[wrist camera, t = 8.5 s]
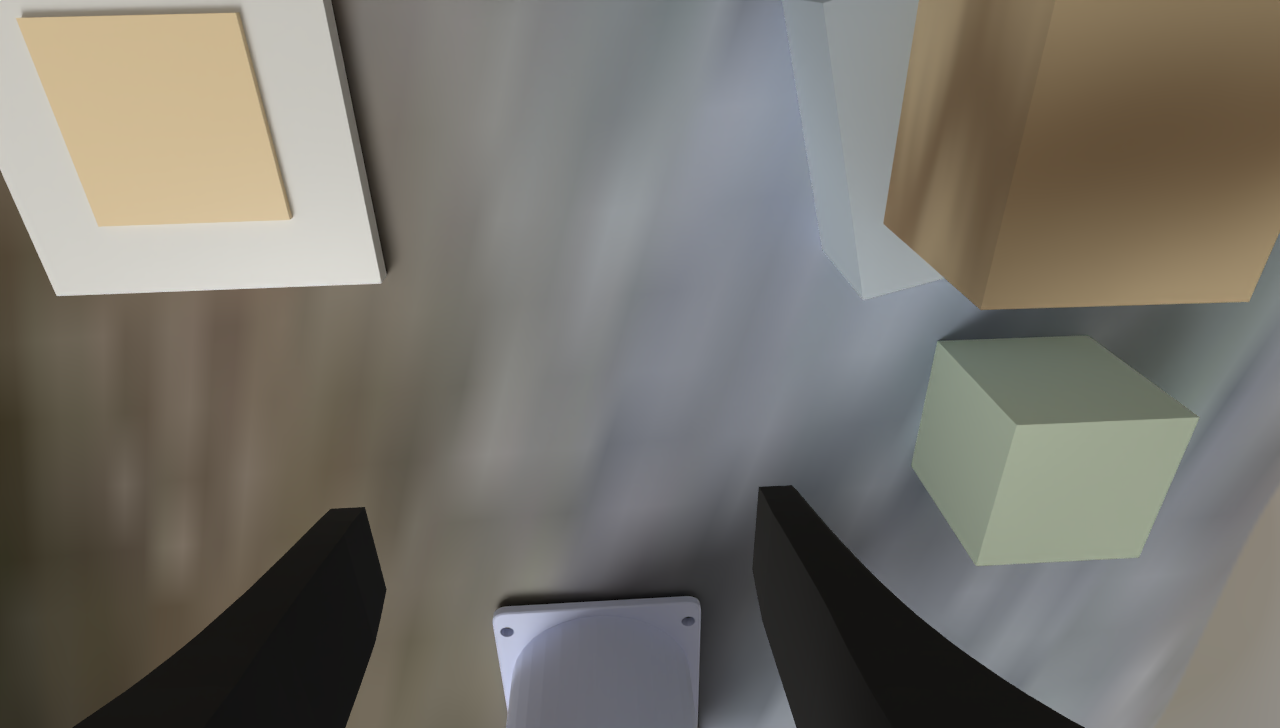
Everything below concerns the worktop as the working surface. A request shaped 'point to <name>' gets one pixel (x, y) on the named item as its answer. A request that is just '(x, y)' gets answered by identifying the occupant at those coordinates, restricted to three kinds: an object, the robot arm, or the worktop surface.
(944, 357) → the sage block
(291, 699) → the robot arm
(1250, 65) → the maple block
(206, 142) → the card
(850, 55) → the blue-grey base block
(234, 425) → the worktop surface
